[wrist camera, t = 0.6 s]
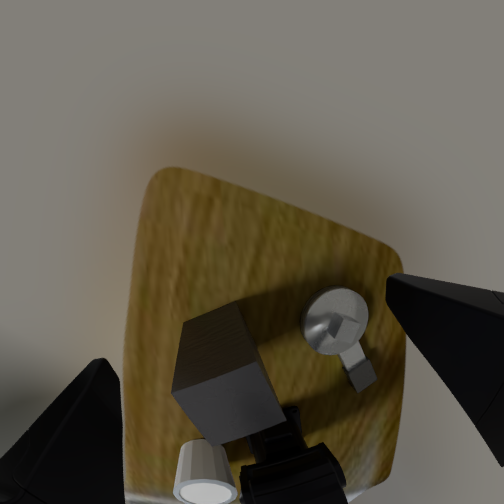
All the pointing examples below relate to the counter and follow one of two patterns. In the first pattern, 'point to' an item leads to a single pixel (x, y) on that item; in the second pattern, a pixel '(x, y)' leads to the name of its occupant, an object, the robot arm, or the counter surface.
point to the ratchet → (339, 331)
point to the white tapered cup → (204, 474)
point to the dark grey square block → (223, 378)
